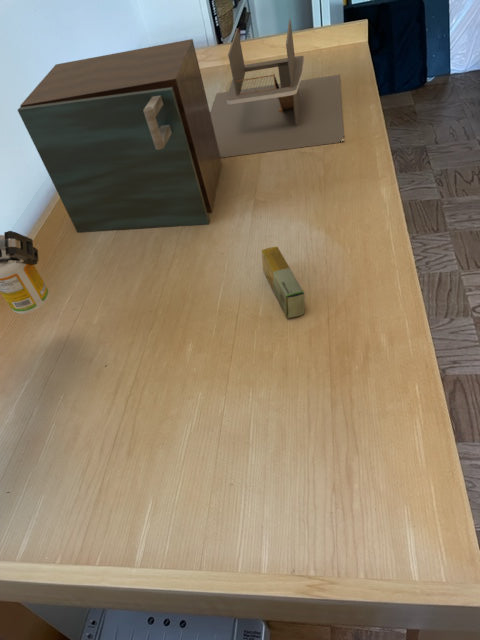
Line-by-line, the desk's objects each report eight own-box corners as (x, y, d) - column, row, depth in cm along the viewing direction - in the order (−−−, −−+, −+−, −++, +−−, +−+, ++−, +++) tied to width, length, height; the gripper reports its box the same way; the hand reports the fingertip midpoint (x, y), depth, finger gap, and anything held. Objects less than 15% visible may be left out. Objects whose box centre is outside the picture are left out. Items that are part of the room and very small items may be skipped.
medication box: (305, 315, 75) (305, 293, 72) (287, 320, 74) (286, 298, 72) (278, 265, 83) (277, 244, 81) (261, 269, 83) (260, 248, 80)
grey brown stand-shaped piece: (339, 74, 132) (335, -3, 120) (344, 141, 107) (339, 53, 96) (216, 93, 138) (201, 22, 127) (194, 160, 114) (172, 80, 102)
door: (202, 242, 92) (161, 105, 75) (66, 249, 99) (1, 124, 82) (209, 221, 96) (172, 86, 80) (79, 229, 103) (19, 107, 86)
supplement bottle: (36, 283, 75) (2, 226, 69) (58, 295, 72) (25, 237, 66) (4, 306, 73) (-34, 250, 66) (25, 320, 70) (-12, 262, 63)
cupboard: (212, 213, 98) (175, 78, 81) (79, 229, 103) (19, 105, 86) (222, 164, 111) (192, 38, 94) (103, 180, 116) (55, 64, 99)
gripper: (-28, 193, 52) (62, 224, 68) (-154, 210, 54) (-37, 235, 71) (-23, 270, 51) (66, 282, 68) (-149, 284, 54) (-34, 292, 71)
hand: (13, 258), depth 69 cm, fingers closed on supplement bottle, 5 cm apart
